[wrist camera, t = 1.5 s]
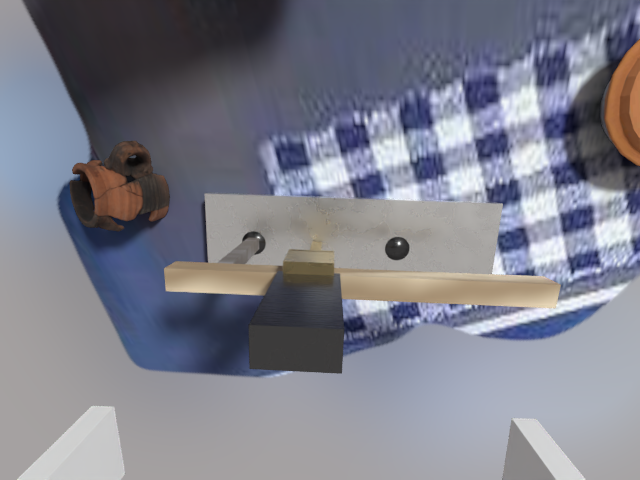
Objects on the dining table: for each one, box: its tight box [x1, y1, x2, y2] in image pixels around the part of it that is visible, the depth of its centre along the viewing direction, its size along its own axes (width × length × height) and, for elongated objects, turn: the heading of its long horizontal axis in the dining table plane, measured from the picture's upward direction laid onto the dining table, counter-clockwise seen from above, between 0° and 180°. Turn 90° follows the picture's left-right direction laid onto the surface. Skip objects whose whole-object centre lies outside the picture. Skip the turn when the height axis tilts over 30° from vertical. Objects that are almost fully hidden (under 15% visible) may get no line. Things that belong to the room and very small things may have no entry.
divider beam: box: [164, 238, 561, 308], centre depth 32 cm, size 2×32×14 cm, turn 88°
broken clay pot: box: [70, 141, 170, 231], centre depth 38 cm, size 12×10×8 cm
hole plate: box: [205, 192, 503, 274], centre depth 40 cm, size 12×36×2 cm, turn 88°
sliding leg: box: [249, 242, 344, 373], centre depth 28 cm, size 5×5×23 cm
